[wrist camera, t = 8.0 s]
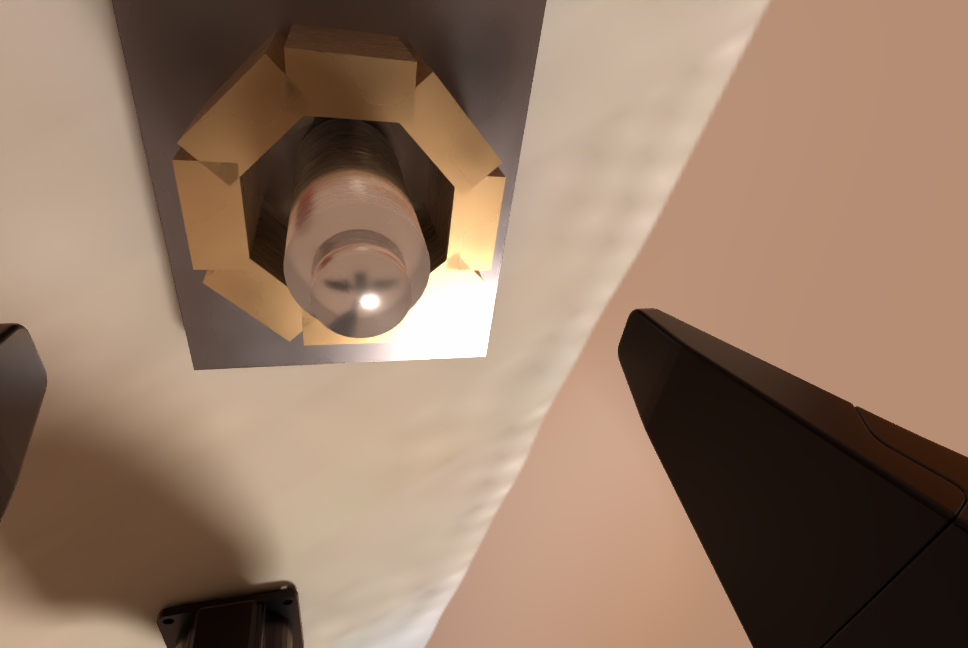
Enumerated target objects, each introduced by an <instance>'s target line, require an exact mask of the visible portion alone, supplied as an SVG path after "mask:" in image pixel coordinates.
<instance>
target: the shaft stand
mask: <svg viewBox="0 0 968 648" xmlns="http://www.w3.org/2000/svg"><path fill="white" fill-rule="evenodd" d="M112 3H113V8H114V12H115V17H116V21H117V26H118V30H119V35H120V39H121V44H122V48H123V53H124V57H125V62H126V66H127V70H128V75H129V79H130V84H131V88H132V93H133V97H134V102H135V106H136V111H137V115H138V120H139V124H140V129H141V133H142V138H143V142H144V147H145V151H146V156H147V160H148V165H149V169H150V174H151V178H152V183H153V187H154V192H155V196H156V201H157V205H158V210H159V214H160V219H161V223H162V228H163V232H164V237H165V241H166V246H167V250H168V255H169V259H170V264H171V268H172V273H173V277H174V282H175V286H176V291H177V295H178V300H179V304H180V309H181V313H182V318H183V322H184V327H185V331H186V336H187V340H188V345H189V349H190V353H191V358H192V362H193V367H194V370H206V369H227V368H248V367H270V366H291V365H312V364H334V363H355V362H376V361H398V360H419V359H440V358H461V357H483V356H486V350H487V344H488V338H489V332H490V326H491V321H492V315H493V309H494V303H495V297H496V291H497V286H498V280H499V274H500V268H501V262H502V256H503V251H504V245H505V239H506V233H507V227H508V221H509V216H510V210H511V204H512V198H513V192H514V186H515V181H516V175H517V169H518V163H519V157H520V152H521V146H522V140H523V134H524V128H525V122H526V117H527V111H528V105H529V99H530V93H531V87H532V82H533V76H534V70H535V64H536V58H537V52H538V47H539V41H540V35H541V29H542V23H543V17H544V12H545V6H546V0H112ZM292 24H300V25H308V26H316V27H325V28H333V29H341V30H349V31H357V32H366V33H374V34H382V35H390V36H398V38H399V39H400V40H401V41H402V43H403V44H404V45H405V47H406V48H407V47H408V46H410V45H412V46H413V47H414V49H415V50H416V51H417V52H418V53H419V55H420V56H421V57H422V58H423V60H424V61H425V62H426V63H427V64H428V66H429V67H430V68H431V69H432V71H433V72H434V73H435V74H436V76H437V77H438V78H439V80H440V81H441V82H442V84H443V85H444V86H445V88H446V89H447V90H448V91H449V93H450V94H451V95H452V97H453V98H454V99H455V101H456V102H457V103H458V105H459V106H460V107H461V109H462V110H463V111H464V112H465V114H466V115H467V116H468V118H469V119H470V120H471V122H472V123H473V124H474V126H475V127H476V128H477V130H478V131H479V132H480V134H481V135H482V136H483V137H484V139H485V140H486V141H487V143H488V144H489V145H490V147H491V148H492V149H493V151H494V152H495V153H496V155H497V156H498V157H499V158H500V160H501V161H502V162H503V163H501V164H500V165H499V166H498V167H499V169H500V170H501V171H502V173H503V174H504V175H505V177H506V180H505V186H504V192H503V199H502V205H501V211H500V217H499V223H498V229H497V235H496V241H495V248H494V254H493V260H492V266H491V270H479V272H480V274H481V277H482V279H483V281H484V282H483V283H481V284H480V285H479V286H478V287H476V288H475V289H474V290H473V291H471V292H470V293H469V294H467V295H466V296H465V297H464V298H462V299H461V300H460V301H459V302H457V303H456V304H455V305H454V306H452V307H451V308H450V309H448V310H447V311H446V312H445V313H443V314H442V315H441V316H440V317H438V318H437V319H436V320H435V321H433V322H432V323H431V324H430V325H428V326H427V327H426V328H424V329H423V330H422V331H421V332H419V333H418V334H417V335H416V336H414V337H412V336H410V335H409V334H408V333H407V332H406V331H404V330H403V329H402V328H401V337H400V342H390V343H362V344H334V345H305V346H304V340H303V331H302V332H301V333H299V334H298V335H297V336H296V337H295V338H293V339H292V340H291V341H290V342H289V341H288V340H286V339H285V338H283V337H282V336H280V335H279V334H278V333H276V332H275V331H273V330H272V329H270V328H269V327H267V326H266V325H264V324H263V323H261V322H260V321H258V320H257V319H255V318H254V317H252V316H251V315H249V314H248V313H247V312H245V311H244V310H242V309H241V308H239V307H238V306H236V305H235V304H233V303H232V302H230V301H229V300H227V299H226V298H224V297H223V296H221V295H220V294H218V293H217V292H216V291H214V290H213V289H211V288H210V287H208V286H207V285H205V284H204V283H203V280H204V277H205V275H206V272H207V270H193V265H192V260H191V255H190V250H189V245H188V240H187V234H186V229H185V224H184V219H183V214H182V208H181V203H180V198H179V193H178V188H177V183H176V177H175V172H174V167H173V162H172V159H173V158H174V156H175V155H176V153H177V152H178V150H179V149H180V147H181V146H180V145H179V144H178V143H177V142H178V141H179V139H180V138H181V136H182V135H183V133H184V132H185V131H186V129H187V128H188V126H189V125H190V124H191V122H192V121H193V119H194V118H195V117H196V115H197V114H198V112H199V111H200V109H201V108H202V107H203V105H204V104H205V102H206V101H207V100H208V99H209V98H210V97H211V96H212V95H213V94H214V93H215V92H216V91H217V90H218V89H219V88H220V86H221V85H222V84H223V83H224V82H225V81H226V80H227V79H228V78H229V77H230V76H231V75H232V74H233V73H234V72H235V71H236V70H237V69H238V68H239V67H240V66H241V65H242V64H243V63H244V62H245V61H246V60H247V59H248V58H249V57H250V56H251V55H252V54H253V53H254V52H255V51H256V50H257V49H258V48H259V47H260V46H261V45H262V44H263V43H264V42H265V41H266V40H267V39H268V38H269V37H270V36H271V35H272V34H273V33H274V32H275V31H276V30H277V29H279V31H280V32H281V33H282V34H283V35H284V36H285V37H286V38H288V35H289V32H290V29H291V26H292ZM259 164H260V174H261V184H262V194H263V199H264V200H265V201H266V202H267V203H268V204H269V205H271V206H272V207H273V208H274V209H275V210H277V211H278V212H279V213H280V214H281V215H282V216H284V217H285V218H286V219H287V220H288V221H289V222H288V231H287V239H286V247H285V256H284V276H285V281H286V284H287V287H288V289H289V291H290V293H291V295H292V296H293V298H294V299H295V301H296V302H297V303H298V304H299V305H300V307H301V308H302V309H304V310H305V311H306V312H307V313H308V314H310V315H311V316H313V317H314V318H316V319H318V320H319V321H320V322H321V323H322V324H323V325H324V326H325V327H327V328H328V329H329V330H331V331H333V332H335V333H337V334H339V335H342V336H346V337H350V338H370V337H375V336H378V335H381V334H384V333H386V332H388V331H390V330H392V329H393V328H394V327H396V326H397V325H398V324H399V323H400V322H401V321H402V320H403V319H404V318H405V316H406V315H407V313H408V311H409V310H410V309H411V308H412V307H414V305H415V304H416V303H417V302H418V301H419V299H420V298H421V296H422V295H423V293H424V291H425V289H426V287H427V284H428V280H429V276H430V257H429V253H428V249H427V246H426V243H425V240H424V237H423V234H422V231H421V228H420V225H419V222H418V219H417V216H416V213H417V212H418V211H419V210H420V209H422V208H423V207H424V206H425V205H426V195H427V183H428V170H429V157H428V155H427V154H426V153H425V152H424V151H423V150H422V148H421V147H420V146H419V145H418V144H417V143H416V142H415V140H414V139H413V138H412V137H411V136H410V135H409V133H408V132H407V131H406V130H405V129H404V128H403V126H402V125H401V124H400V123H396V122H383V121H370V120H357V119H344V118H331V117H318V116H305V115H304V116H303V117H302V118H301V119H300V120H299V121H298V122H297V123H296V124H295V125H294V126H293V127H291V128H290V129H289V130H288V131H287V132H286V133H285V134H284V135H283V136H282V137H281V138H280V139H279V140H278V141H277V142H276V143H275V144H274V145H273V146H272V147H271V148H269V149H268V150H267V151H266V152H265V153H264V154H263V155H262V156H261V157H260V158H259Z"/></svg>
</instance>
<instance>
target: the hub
mask: <svg viewBox="0 0 968 648" xmlns="http://www.w3.org/2000/svg"><path fill="white" fill-rule="evenodd" d="M304 115H305V116H318V117H331V118H344V119H357V120H370V121H383V122H396V123H400V124H401V125H402V126H403V128H404V129H405V130H406V131H407V132H408V133H409V135H410V136H411V137H412V138H413V139H414V140H415V142H416V143H417V144H418V145H419V146H420V147H421V148H422V150H423V151H424V152H425V153H426V154H427V155H428V157H429V170H428V183H427V195H426V205H425V206H424V207H423V208H422V209H420V210H419V211H418V212H417V213H416V216H417V219H418V222H419V225H420V228H421V231H422V234H423V237H424V240H425V243H426V246H427V249H428V253H429V257H430V276H429V280H428V284H427V287H426V289H425V291H424V293H423V295H422V296H421V298H420V299H419V301H418V302H417V303H416V304H415V305H414V307H412V308H411V309H410V310H409V311H408V313H407V315H406V316H405V318H404V319H403V320H402V321H401V322H400V323H399V324H398V325H397V326H396V327H394V328H393V329H392V330H390V331H388V332H386V333H384V334H381V335H378V336H375V337H370V338H350V337H346V336H342V335H339V334H337V333H335V332H333V331H331V330H329V329H328V328H327V327H325V326H324V325H323V324H322V323H321V322H320V321H319V320H318V319H316V318H314V317H313V316H311V315H310V314H308V313H307V312H306V311H305V310H304V309H302V308H301V307H300V305H299V304H298V303H297V302H296V301H295V299H294V298H293V296H292V295H291V293H290V291H289V289H288V287H287V284H286V281H285V276H284V256H285V247H286V239H287V231H288V222H289V221H288V220H287V219H286V218H285V217H284V216H282V215H281V214H280V213H279V212H278V211H277V210H275V209H274V208H273V207H272V206H271V205H269V204H268V203H267V202H266V201H265V200H264V199H263V194H262V184H261V174H260V164H259V158H260V157H261V156H262V155H263V154H264V153H265V152H266V151H267V150H268V149H269V148H271V147H272V146H273V145H274V144H275V143H276V142H277V141H278V140H279V139H280V138H281V137H282V136H283V135H284V134H285V133H286V132H287V131H288V130H289V129H290V128H291V127H293V126H294V125H295V124H296V123H297V122H298V121H299V120H300V119H301V118H302V117H303V116H304ZM177 143H178V144H179V145H180V146H181V147H180V149H179V150H178V152H177V153H176V155H175V156H174V158H173V159H172V162H173V167H174V172H175V177H176V183H177V188H178V193H179V198H180V203H181V208H182V214H183V219H184V224H185V229H186V234H187V240H188V245H189V250H190V255H191V260H192V265H193V270H207V272H206V275H205V277H204V280H203V283H204V284H205V285H207V286H208V287H210V288H211V289H213V290H214V291H216V292H217V293H218V294H220V295H221V296H223V297H224V298H226V299H227V300H229V301H230V302H232V303H233V304H235V305H236V306H238V307H239V308H241V309H242V310H244V311H245V312H247V313H248V314H249V315H251V316H252V317H254V318H255V319H257V320H258V321H260V322H261V323H263V324H264V325H266V326H267V327H269V328H270V329H272V330H273V331H275V332H276V333H278V334H279V335H280V336H282V337H283V338H285V339H286V340H288V341H289V342H290V341H291V340H292V339H293V338H295V337H296V336H297V335H298V334H299V333H301V332H302V331H303V340H304V346H305V345H334V344H362V343H390V342H400V337H401V328H402V329H403V330H404V331H406V332H407V333H408V334H409V335H410V336H412V337H414V336H416V335H417V334H418V333H419V332H421V331H422V330H423V329H424V328H426V327H427V326H428V325H430V324H431V323H432V322H433V321H435V320H436V319H437V318H438V317H440V316H441V315H442V314H443V313H445V312H446V311H447V310H448V309H450V308H451V307H452V306H454V305H455V304H456V303H457V302H459V301H460V300H461V299H462V298H464V297H465V296H466V295H467V294H469V293H470V292H471V291H473V290H474V289H475V288H476V287H478V286H479V285H480V284H481V283H483V282H484V281H483V279H482V277H481V274H480V272H479V270H491V266H492V260H493V254H494V248H495V241H496V235H497V229H498V223H499V217H500V211H501V205H502V199H503V192H504V186H505V180H506V177H505V175H504V174H503V173H502V171H501V170H500V169H499V167H498V166H499V165H500V164H501V163H503V162H502V161H501V160H500V158H499V157H498V156H497V155H496V153H495V152H494V151H493V149H492V148H491V147H490V145H489V144H488V143H487V141H486V140H485V139H484V137H483V136H482V135H481V134H480V132H479V131H478V130H477V128H476V127H475V126H474V124H473V123H472V122H471V120H470V119H469V118H468V116H467V115H466V114H465V112H464V111H463V110H462V109H461V107H460V106H459V105H458V103H457V102H456V101H455V99H454V98H453V97H452V95H451V94H450V93H449V91H448V90H447V89H446V88H445V86H444V85H443V84H442V82H441V81H440V80H439V78H438V77H437V76H436V74H435V73H434V72H433V71H432V69H431V68H430V67H429V66H428V64H427V63H426V62H425V61H424V60H423V58H422V57H421V56H420V55H419V53H418V52H417V51H416V50H415V49H414V47H413V46H412V45H410V46H408V47H407V48H406V47H405V45H404V44H403V43H402V41H401V40H400V39H399V38H398V36H390V35H382V34H374V33H366V32H357V31H349V30H341V29H333V28H325V27H316V26H308V25H300V24H292V26H291V29H290V32H289V35H288V38H286V37H285V36H284V35H283V34H282V33H281V32H280V31H279V29H277V30H276V31H275V32H274V33H273V34H272V35H271V36H270V37H269V38H268V39H267V40H266V41H265V42H264V43H263V44H262V45H261V46H260V47H259V48H258V49H257V50H256V51H255V52H254V53H253V54H252V55H251V56H250V57H249V58H248V59H247V60H246V61H245V62H244V63H243V64H242V65H241V66H240V67H239V68H238V69H237V70H236V71H235V72H234V73H233V74H232V75H231V76H230V77H229V78H228V79H227V80H226V81H225V82H224V83H223V84H222V85H221V86H220V88H219V89H218V90H217V91H216V92H215V93H214V94H213V95H212V96H211V97H210V98H209V99H208V100H207V101H206V102H205V104H204V105H203V107H202V108H201V109H200V111H199V112H198V114H197V115H196V117H195V118H194V119H193V121H192V122H191V124H190V125H189V126H188V128H187V129H186V131H185V132H184V133H183V135H182V136H181V138H180V139H179V141H178V142H177Z"/></svg>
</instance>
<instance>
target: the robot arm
mask: <svg viewBox="0 0 968 648" xmlns="http://www.w3.org/2000/svg"><path fill="white" fill-rule="evenodd" d="M618 357H619V361H620V364H621V366H622V369H623V372H624V374H625V377H626V380H627V382H628V385H629V388H630V391H631V393H632V396H633V399H634V401H635V404H636V407H637V410H638V412H639V415H640V418H641V420H642V422H643V425H644V428H645V430H646V432H647V434H648V436H649V439H650V441H651V443H652V445H653V447H654V449H655V451H656V453H657V455H658V457H659V459H660V461H661V463H662V465H663V467H664V469H665V471H666V473H667V475H668V477H669V479H670V481H671V483H672V485H673V487H674V489H675V491H676V493H677V495H678V497H679V499H680V501H681V503H682V505H683V507H684V509H685V511H686V513H687V515H688V517H689V519H690V521H691V523H692V525H693V527H694V529H695V531H696V533H697V535H698V538H699V540H700V542H701V544H702V546H703V548H704V550H705V552H706V554H707V556H708V558H709V560H710V562H711V564H712V566H713V568H714V570H715V572H716V574H717V576H718V578H719V580H720V582H721V584H722V586H723V588H724V590H725V592H726V594H727V596H728V598H729V600H730V602H731V604H732V606H733V608H734V610H735V612H736V614H737V616H738V618H739V620H740V622H741V624H742V626H743V628H744V630H745V632H746V634H747V636H748V638H749V640H750V642H751V644H752V646H753V648H968V457H966V456H964V455H962V454H959V453H957V452H955V451H953V450H950V449H948V448H946V447H944V446H941V445H939V444H937V443H935V442H932V441H930V440H928V439H926V438H923V437H921V436H919V435H917V434H915V433H913V432H911V431H908V430H906V429H904V428H902V427H900V426H898V425H895V424H894V423H891V422H889V421H887V420H885V419H883V418H881V417H879V416H877V415H875V414H873V413H871V412H868V411H866V410H864V409H862V408H860V407H858V406H856V407H854V406H853V404H851V403H850V402H848V401H846V400H844V399H841V398H839V397H837V396H835V395H833V394H831V393H829V392H827V391H825V390H823V389H821V388H819V387H817V386H815V385H813V384H810V383H808V382H806V381H804V380H802V379H800V378H798V377H796V376H794V375H792V374H790V373H788V372H786V371H784V370H782V369H780V368H778V367H776V366H773V365H771V364H769V363H767V362H765V361H763V360H761V359H759V358H757V357H755V356H752V355H751V354H749V353H747V352H745V351H743V350H740V349H738V348H736V347H734V346H732V345H730V344H728V343H726V342H724V341H722V340H720V339H718V338H716V337H714V336H711V335H710V334H707V333H705V332H703V331H701V330H699V329H697V328H695V327H693V326H691V325H689V324H687V323H685V322H683V321H680V320H678V319H676V318H675V317H672V316H670V315H668V314H666V313H664V312H662V311H660V310H658V309H654V308H645V309H635V310H633V311H632V312H631V313H630V315H629V317H628V320H627V323H626V326H625V328H624V332H623V335H622V337H621V340H620V343H619V346H618ZM46 387H47V375H46V371H45V368H44V366H43V364H42V361H41V359H40V357H39V354H38V352H37V350H36V347H35V345H34V343H33V340H32V338H31V336H30V334H29V332H28V330H27V329H26V328H25V327H24V326H22V325H20V324H17V323H6V324H0V521H1V519H2V517H3V515H4V513H5V510H6V508H7V506H8V504H9V501H10V499H11V497H12V494H13V492H14V489H15V487H16V484H17V481H18V478H19V475H20V472H21V469H22V466H23V463H24V460H25V456H26V453H27V450H28V447H29V443H30V440H31V437H32V434H33V430H34V427H35V424H36V421H37V417H38V414H39V411H40V408H41V404H42V401H43V398H44V395H45V391H46ZM157 625H158V627H159V629H160V632H161V634H162V637H163V639H164V641H165V644H166V646H167V648H304V640H303V631H302V623H301V614H300V606H299V597H298V592H297V591H296V590H292V589H290V590H282V591H275V592H269V593H262V594H256V595H249V596H243V597H237V598H230V599H224V600H217V601H211V602H204V603H198V604H191V605H185V606H178V607H172V608H167V609H163V610H162V611H160V612H159V615H158V619H157Z"/></svg>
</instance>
